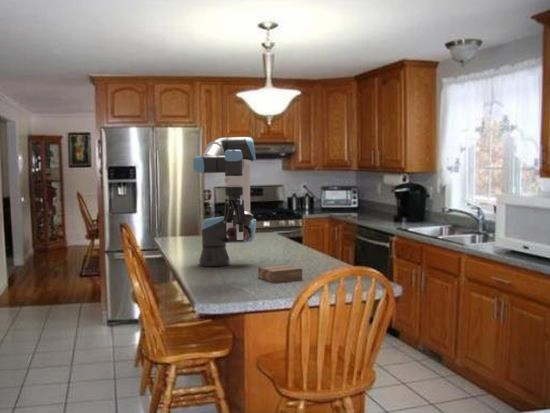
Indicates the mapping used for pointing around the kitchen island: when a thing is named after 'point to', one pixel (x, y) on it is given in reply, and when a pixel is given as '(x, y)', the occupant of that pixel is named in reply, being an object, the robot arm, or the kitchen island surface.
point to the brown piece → (233, 231)
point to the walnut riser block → (280, 273)
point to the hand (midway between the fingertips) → (234, 238)
